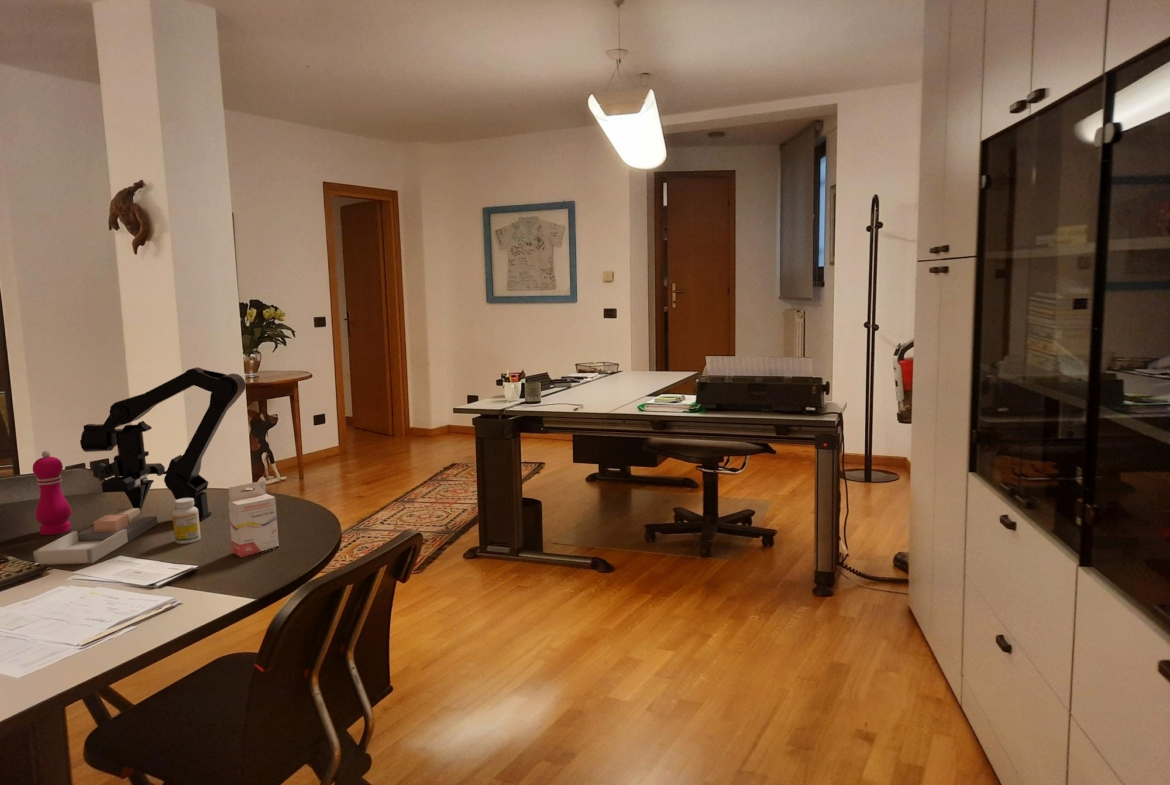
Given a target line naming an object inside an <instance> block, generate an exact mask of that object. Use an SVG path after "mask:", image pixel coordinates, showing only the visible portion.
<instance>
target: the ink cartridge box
mask: <svg viewBox="0 0 1170 785" xmlns="http://www.w3.org/2000/svg"><path fill="white" fill-rule="evenodd" d="M266 485H267V484H266V481H265V480H262V481H257V482H256V481H255V482H250V483H245V484H239V485H234V486H230V487H228V514H229V526H230V537H231V538H230V539H231V548H232V549H231V550H232V551H231V552H232V553H233V554H234V555H236V556H238V557H239V558H243V557H248V555H249V556H251V554H252V555H255V554H254V553H257V554H259V553H258V552H261V551H264V550H267V549H269V548H273V547H276V546H279V532H278V517H277V503H276V496H273V495H272V494H271V495H270V494H268V493H267V491H266V490H267V488H266V487H267V486H266ZM248 488H249V489H253V490H250V491H244V490H247V489H248ZM242 491H243V492H242ZM279 547H280V546H279ZM261 553H262V552H261Z"/></svg>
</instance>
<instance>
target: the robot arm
mask: <svg viewBox="0 0 1170 785" xmlns="http://www.w3.org/2000/svg"><path fill="white" fill-rule="evenodd" d="M194 386H195V387H198V388H199V389H202V390H204V391H207V392H210V397H209V405H208V408H207V410H206V411H205V413H204V415H203V417H202V419H201V421H200V422H199V424H198V426H197V428H196V431H195V432H194V434H193V436H192V438H191V440H190V442H189V444H188V446H187V448H186V449H185V451H184V453H183V454H179V455H177V456H175V457H174V458H172V459H171V460H170V461H169V464H168V468H167V469H166V468H165V465H163V464H162V463H159V462H157V463H156V462H155V463H147V461H146V460H147V459H146V457H148V456H150V455H149V454H150V453H149V450H147V451H146V450H145V443H144V434H143V433H144V432H146V433H147V431H150V430H152V426H150V425H149V424H147V423H146V422H145V421H144V420H141V421H139V422H138V423H137V424H130V423H133V422H135V421H138V420H140V419H141V418H143V416H145V415H147V414H148V413H149V412H150V411H151V410H152V409H153V408H154V407H156V406H157V405H159V404H160V403H162V402H164V401H166V400H169V399H170V398H172V397H174V396H176V395H178V394H180V393H182V392H184V391H186V390H188V389H190V388H191V387H194ZM246 387H247V385H246V381H245V380H244V378H243V376H241V375H240V374H238V373H229V374H226V373H223V372H219V371H214V370H213V371H212V370H208V369H203V368H201V367H194V368H193V367H192V368H190V369H187V370H186V371H185V372H183V373H182V374H180V375H178V376H176V377H174V378H172V379H170V380H168V381H166V382H163V383H162V384H160V385H158V386H156V387H154V388H152V389H150V390H148V391H146V392H144V393H141V394H137V395H134V396H131V397H128V398H124V399H122V400H117V401H116V402H114V403H113V404H112V405H110V409H109V415H108V416H107V418H106V420H105V421H104V423H100V424H95V423H88V424H85V425H83V430H82V433H81V437H80V440H79V442H80V446H81V450H82V451H83V452H84V453H91V452H93V453H94V452H109V451H113V450H114V448H115V447H117V455H114V457H113V462H110V463H108V464H105V463H103V462H101V463H98V464H96V465H93V466H92V473H93V474H92V477H93V478H96V479H99V482H102V483H100V489H101V493H125V495H126V496H127V498H128V501H129V503H130V504H131V506H132V508H139V510H140V511H142V509H143V507H144V505H145V504H144V503H145V501H146V498H147V495H148V493H149V491H150V489H151V487H152V484H153V483H154V481H155V480H154V479H149V477H148V476H150V475H157V476H158V477H160V476H163V475H164V479H163V482H164V484H165V487H166V488H167V489H168V490H170V491H171V493H172V496H173V497H174V499H175V500H178V499H182V498H193V499H194V503H195V504H194V505H193V506H194V507H196V508H197V509H198V513H199V522H201V521H203V520H205V519H206V518H208V517H210V514H211V515H212V514H213V513H212V511H209V504H208V503H209V502H208V494H207V490H208V486H209V481H208V480H206V479H205V478H204V477H202V476H201V475H200V472H201V468H202V459H203V457H204V455H205V453H206V451H207V449H208V447H209V445H210V443H211V442H212V440H213V437H215V435H216V432H217V431H218V429H219V427H220V425H221V422H222V421H223V420H224V417H225V415H226V413H227V411H229V409H230V408H231V407H232V406H233V405H234V404H235V403H236V401H237V400H238V399H239V398H240V396H242V394H243V393H244V392H245V391H246ZM123 425H124V427H123V428H118V427H120V426H121V427H122V426H123ZM165 470H166V471H165ZM174 507H175V506H174ZM175 509H177V508H176V507H175ZM175 509H174V510H175ZM207 516H208V517H207Z"/></svg>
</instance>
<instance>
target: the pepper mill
mask: <svg viewBox="0 0 1170 785" xmlns="http://www.w3.org/2000/svg"><path fill="white" fill-rule="evenodd" d="M41 456H42V457H41V458H38V459H37V460H35V461H34V463H33V464H32V473H33V474H34V475H35V476H36V477H37V478H36V481H37V482H36V484H37V485H38V486H39V490H40V491H39V494H40V495H39V499H38V500H39V501H38V503H37V505H36V509H35V519H36V521H37V522H38V523H40V524H41V525H40V526H39V534H41V535H42V536H54V535H60V534H63V533H66V532H69V531H70V530H71V529H72V525H71V521H69V518H70V517H71V515H72V509H71V505H70V504H69V502H68V501H67V499H66V498H65V496H64V494H63V491H62V487H61V482H62V481H63V479H62V476H63V475H61V473H62V471H63V468H64V467H63V463H62V461H61V459H59V458H58V457H55V456H51V452H50V451H49V450H44V451H42V452H41Z"/></svg>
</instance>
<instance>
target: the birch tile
mask: <svg viewBox="0 0 1170 785" xmlns="http://www.w3.org/2000/svg"><path fill="white" fill-rule="evenodd" d="M140 511H141V510H139V508H133V507H132V508H118V509H116V510H114V511H111V512H110V513H108V514H107V515H127V518H128V524H131V523H132V522H134V521H136V520H138V519H140V517H141V512H140Z"/></svg>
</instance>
